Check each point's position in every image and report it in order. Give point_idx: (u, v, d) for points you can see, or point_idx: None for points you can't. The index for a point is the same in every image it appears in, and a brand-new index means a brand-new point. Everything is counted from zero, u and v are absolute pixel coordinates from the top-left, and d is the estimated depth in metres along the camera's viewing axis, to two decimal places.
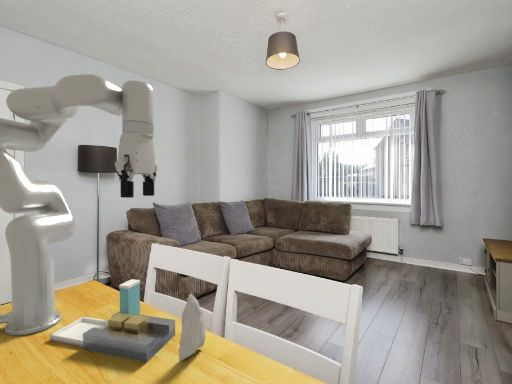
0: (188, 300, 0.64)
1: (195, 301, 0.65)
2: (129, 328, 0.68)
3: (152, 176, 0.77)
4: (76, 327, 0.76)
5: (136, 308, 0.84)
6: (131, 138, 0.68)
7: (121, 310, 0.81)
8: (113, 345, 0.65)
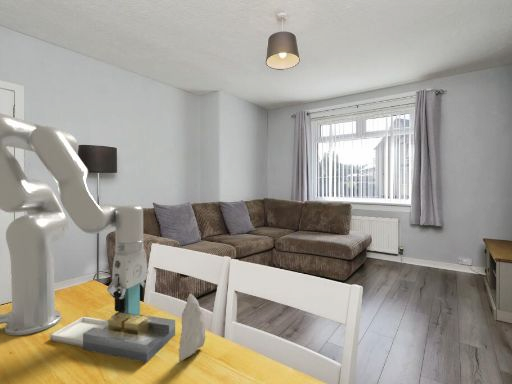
0: (188, 300, 0.64)
1: (195, 301, 0.65)
2: (129, 328, 0.68)
3: None
4: (76, 327, 0.76)
5: (136, 308, 0.84)
6: None
7: None
8: (113, 345, 0.65)
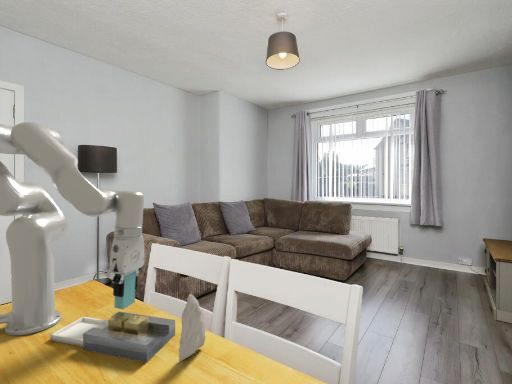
0: (188, 300, 0.64)
1: (195, 301, 0.65)
2: (129, 328, 0.68)
3: None
4: (76, 327, 0.76)
5: (131, 296, 0.84)
6: None
7: (116, 297, 0.81)
8: (113, 345, 0.65)
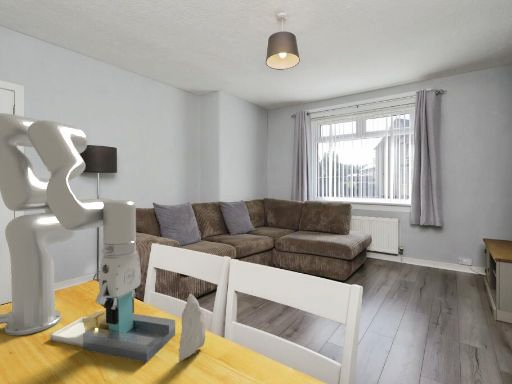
0: (188, 300, 0.64)
1: (195, 301, 0.65)
2: (103, 323, 0.70)
3: None
4: (76, 327, 0.76)
5: (129, 321, 0.72)
6: None
7: None
8: (113, 345, 0.65)
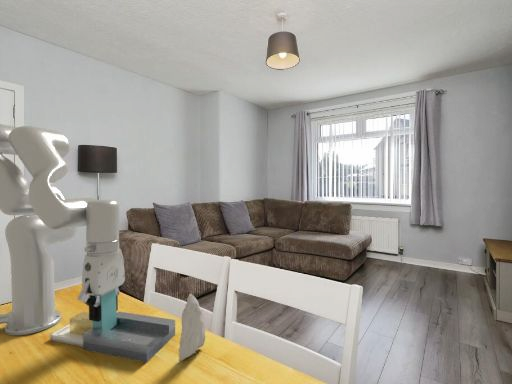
0: (188, 300, 0.64)
1: (195, 301, 0.65)
2: (86, 323, 0.72)
3: None
4: None
5: (112, 318, 0.73)
6: None
7: (94, 321, 0.71)
8: (113, 345, 0.65)
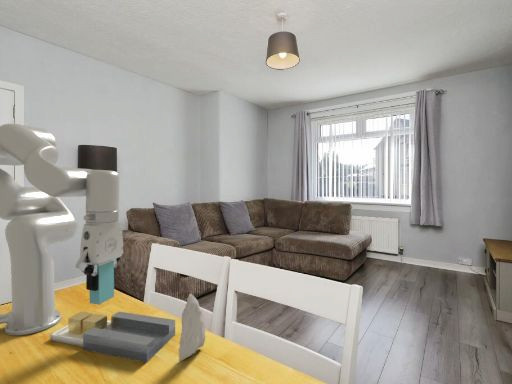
0: (188, 300, 0.64)
1: (195, 301, 0.65)
2: (87, 326, 0.72)
3: None
4: None
5: (110, 289, 0.73)
6: None
7: (91, 290, 0.70)
8: (113, 345, 0.65)
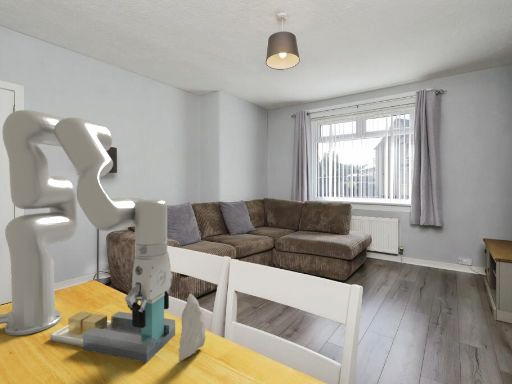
0: (188, 300, 0.64)
1: (195, 301, 0.65)
2: (87, 326, 0.72)
3: None
4: None
5: (160, 326, 0.70)
6: None
7: (143, 329, 0.67)
8: (113, 345, 0.65)
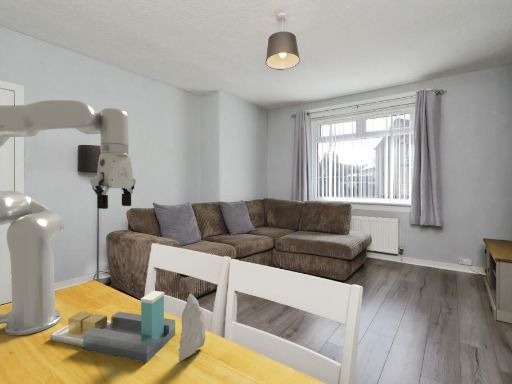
0: (188, 300, 0.64)
1: (195, 301, 0.65)
2: (87, 326, 0.72)
3: None
4: None
5: (160, 326, 0.70)
6: None
7: (143, 329, 0.67)
8: (113, 345, 0.65)
